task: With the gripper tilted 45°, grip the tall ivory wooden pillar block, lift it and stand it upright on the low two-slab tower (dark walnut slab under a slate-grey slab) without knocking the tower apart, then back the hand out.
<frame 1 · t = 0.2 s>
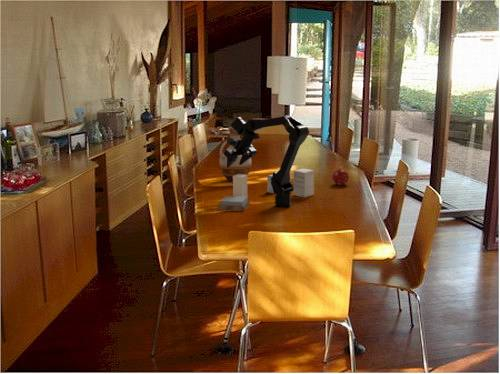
hand: (233, 165, 263), 15 cm above the table, tool tilted 35°, fingers open, 9 cm apart
slate top slab: (234, 202, 246), point 2 cm above the table, touching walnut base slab
christmas ornament: (340, 185, 286), on the table
jug: (234, 181, 297), on the table
supplement box: (303, 195, 266), on the table
medicine box: (275, 191, 274), on the table
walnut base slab: (234, 208, 246), on the table, touching slate top slab
ivory pillar block: (240, 199, 258), on the table
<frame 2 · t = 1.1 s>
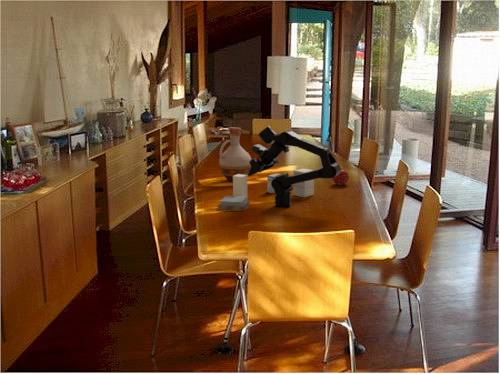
hand: (253, 173, 252), 13 cm above the table, tool tilted 45°, fingers open, 9 cm apart
nothing on the table moved.
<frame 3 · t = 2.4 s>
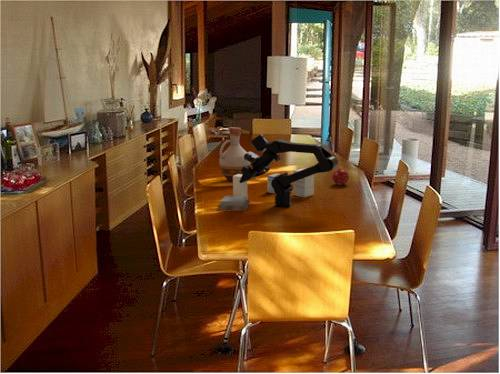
hand: (244, 180, 255), 10 cm above the table, tool tilted 45°, fingers open, 9 cm apart
nothing on the table moved.
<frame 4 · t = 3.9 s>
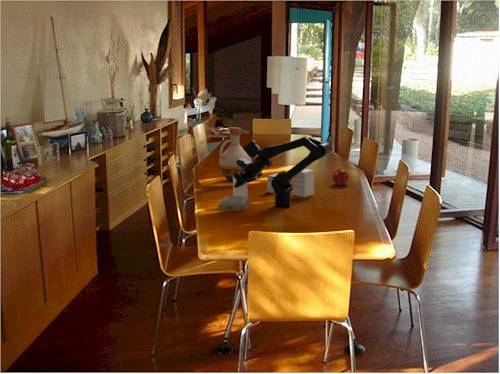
hand: (237, 186, 258), 7 cm above the table, tool tilted 45°, fingers closed on ivory pillar block, 5 cm apart
ivory pillar block: (240, 199, 258), on the table, touching gripper
everything else where it was.
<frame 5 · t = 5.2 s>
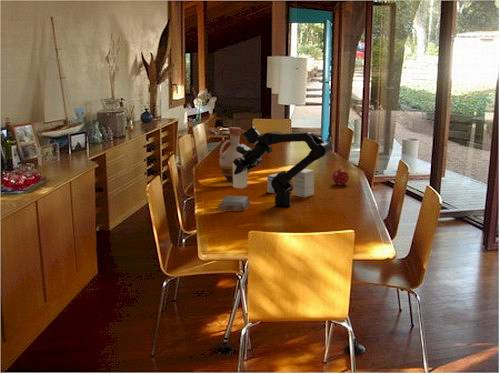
hand: (237, 172, 256), 13 cm above the table, tool tilted 45°, fingers closed on ivory pillar block, 5 cm apart
ivory pillar block: (240, 186, 257), point 6 cm above the table, touching gripper
everything else where it was.
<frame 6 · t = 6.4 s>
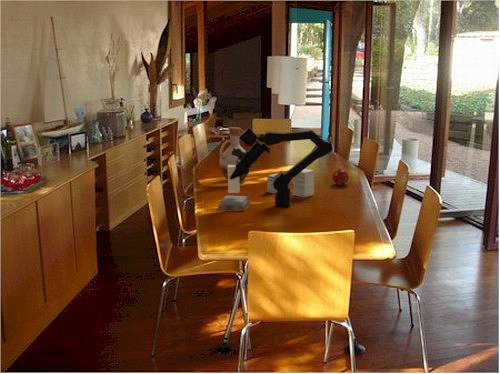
hand: (230, 177, 244), 13 cm above the table, tool tilted 45°, fingers closed on ivory pillar block, 5 cm apart
ivory pillar block: (233, 191, 246), point 7 cm above the table, touching gripper
everything else where it was.
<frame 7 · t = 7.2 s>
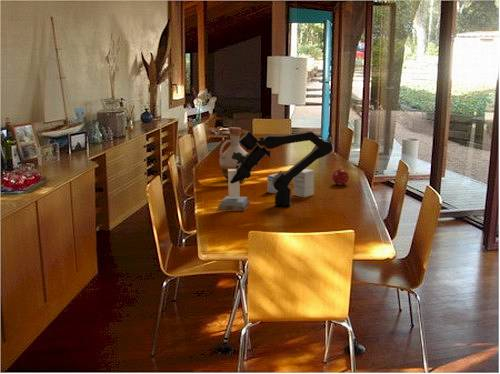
hand: (230, 181, 243), 12 cm above the table, tool tilted 45°, fingers closed on ivory pillar block, 5 cm apart
ivory pillar block: (234, 195, 245), point 5 cm above the table, touching gripper
everything else where it was.
when the fingers open (12 cm above the table, at t = 7.8 s): ivory pillar block drops 2 cm, point 4 cm above the table.
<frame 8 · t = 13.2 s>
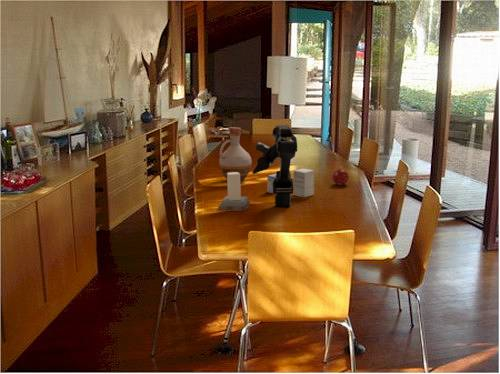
hand: (254, 171, 257), 14 cm above the table, tool tilted 45°, fingers open, 9 cm apart
ivory pillar block: (234, 199, 245), point 4 cm above the table
everything else where it was.
at the end: ivory pillar block 0.2 cm off-centre on the slate top slab, point 2.1 cm above the slate top slab's base; ivory pillar block tilted 1°; slate top slab 0.2 cm off-centre on the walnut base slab, point 2.5 cm above the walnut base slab's base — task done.
